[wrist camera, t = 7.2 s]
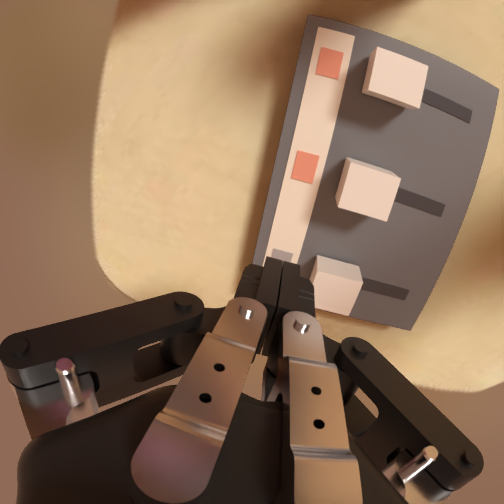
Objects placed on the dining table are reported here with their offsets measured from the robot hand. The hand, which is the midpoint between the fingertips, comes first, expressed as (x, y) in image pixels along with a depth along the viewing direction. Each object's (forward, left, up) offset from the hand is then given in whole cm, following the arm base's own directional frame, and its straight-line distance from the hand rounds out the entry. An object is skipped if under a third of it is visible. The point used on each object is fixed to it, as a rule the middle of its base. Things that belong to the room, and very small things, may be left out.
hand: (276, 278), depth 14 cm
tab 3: (-5, -3, -14) cm, 15 cm away
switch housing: (-7, -3, -17) cm, 18 cm away
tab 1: (-5, +6, -14) cm, 16 cm away
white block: (-5, -12, -14) cm, 19 cm away
